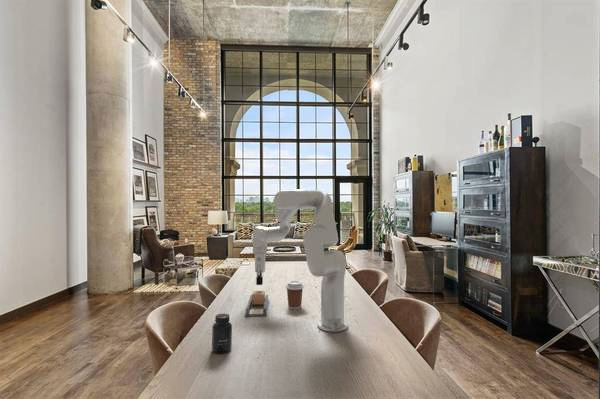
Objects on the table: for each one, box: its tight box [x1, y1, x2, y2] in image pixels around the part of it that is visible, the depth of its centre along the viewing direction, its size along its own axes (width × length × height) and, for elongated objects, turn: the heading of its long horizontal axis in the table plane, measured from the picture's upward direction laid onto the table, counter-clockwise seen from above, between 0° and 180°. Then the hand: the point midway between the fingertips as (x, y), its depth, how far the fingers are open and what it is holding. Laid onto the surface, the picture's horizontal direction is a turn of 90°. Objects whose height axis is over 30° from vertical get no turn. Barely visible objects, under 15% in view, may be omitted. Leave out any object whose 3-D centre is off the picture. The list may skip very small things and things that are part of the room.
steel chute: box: [244, 294, 270, 317], centre depth 161 cm, size 22×10×4 cm, turn 3°
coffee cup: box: [285, 280, 305, 310], centre depth 163 cm, size 9×9×12 cm
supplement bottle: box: [211, 313, 233, 355], centre depth 116 cm, size 7×7×12 cm
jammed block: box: [251, 290, 266, 305], centre depth 166 cm, size 6×6×5 cm
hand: (259, 284), depth 175 cm, fingers closed
